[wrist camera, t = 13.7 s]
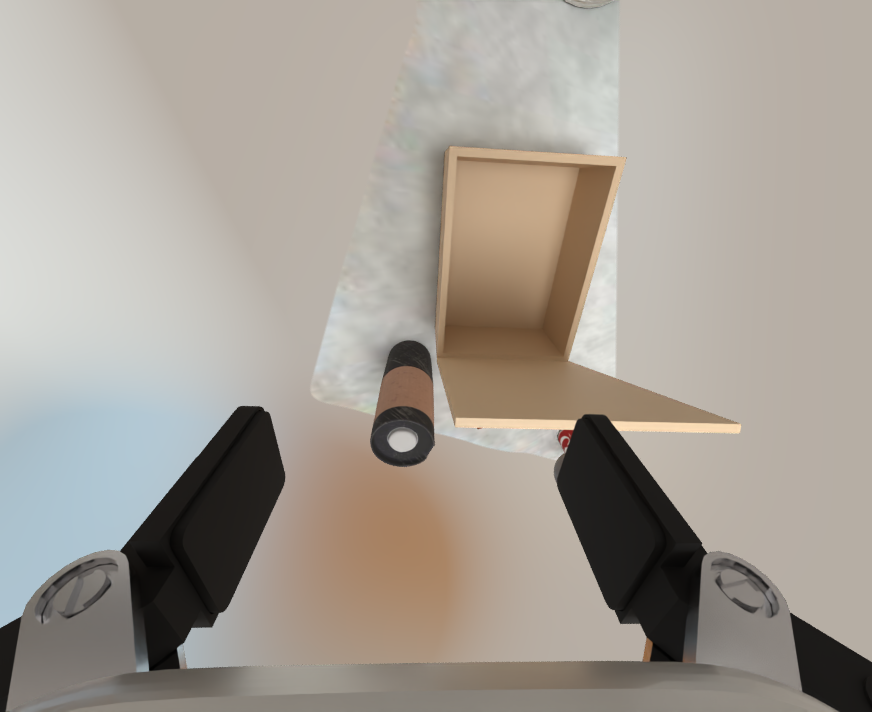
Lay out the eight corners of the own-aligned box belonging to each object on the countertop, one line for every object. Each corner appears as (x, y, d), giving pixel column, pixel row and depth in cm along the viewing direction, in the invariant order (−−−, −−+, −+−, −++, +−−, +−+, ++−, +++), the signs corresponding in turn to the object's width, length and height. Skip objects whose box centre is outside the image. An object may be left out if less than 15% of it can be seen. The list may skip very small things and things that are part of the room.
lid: (455, 417, 19) (450, 512, 20) (741, 424, 20) (724, 514, 21) (437, 357, 43) (435, 402, 44) (569, 361, 44) (564, 405, 45)
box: (444, 152, 40) (449, 146, 32) (584, 161, 41) (626, 157, 33) (435, 327, 52) (436, 357, 43) (544, 331, 53) (567, 362, 44)
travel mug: (379, 347, 54) (357, 429, 36) (423, 332, 53) (421, 411, 35) (397, 383, 57) (385, 474, 40) (438, 370, 56) (444, 458, 39)
